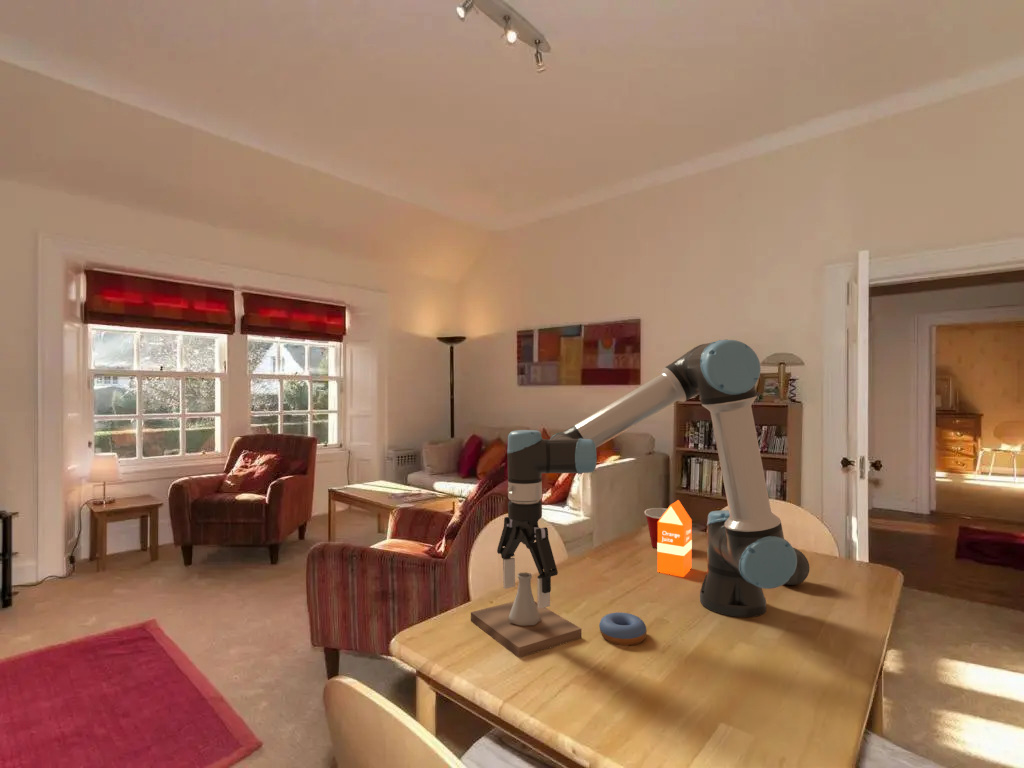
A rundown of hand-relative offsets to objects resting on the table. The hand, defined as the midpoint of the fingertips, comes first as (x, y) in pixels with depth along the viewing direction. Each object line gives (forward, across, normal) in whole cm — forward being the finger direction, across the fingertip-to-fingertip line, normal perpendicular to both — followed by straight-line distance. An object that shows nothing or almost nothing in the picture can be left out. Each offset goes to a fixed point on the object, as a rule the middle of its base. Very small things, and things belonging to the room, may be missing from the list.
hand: (525, 596), depth 121 cm
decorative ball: (+8, +15, +77) cm, 78 cm away
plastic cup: (+8, -27, +73) cm, 78 cm away
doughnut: (+8, +14, +16) cm, 22 cm away
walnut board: (+7, 0, 0) cm, 7 cm away
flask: (+5, 0, 0) cm, 5 cm away
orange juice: (+8, -9, +59) cm, 60 cm away
